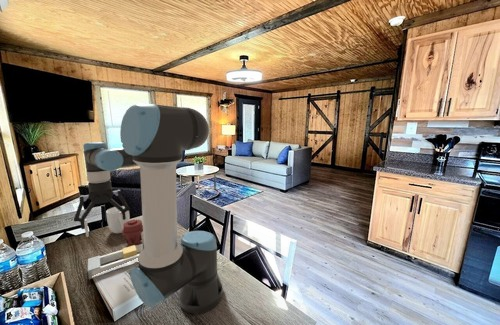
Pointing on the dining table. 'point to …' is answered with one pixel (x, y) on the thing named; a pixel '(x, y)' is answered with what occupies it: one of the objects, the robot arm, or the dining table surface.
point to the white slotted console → (98, 260)
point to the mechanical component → (133, 232)
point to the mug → (116, 219)
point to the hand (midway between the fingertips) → (105, 231)
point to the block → (129, 251)
